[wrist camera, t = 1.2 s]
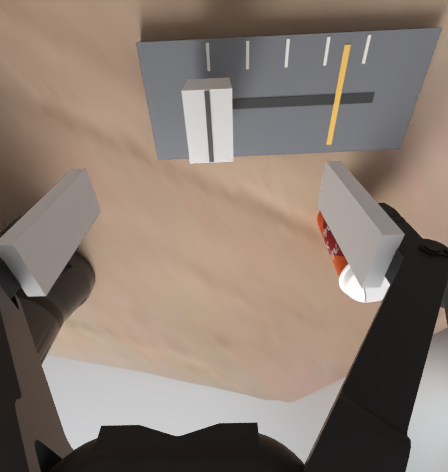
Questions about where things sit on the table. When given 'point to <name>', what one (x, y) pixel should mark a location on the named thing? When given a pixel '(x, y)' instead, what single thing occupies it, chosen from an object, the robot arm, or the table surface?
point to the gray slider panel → (294, 88)
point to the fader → (208, 119)
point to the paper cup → (348, 269)
